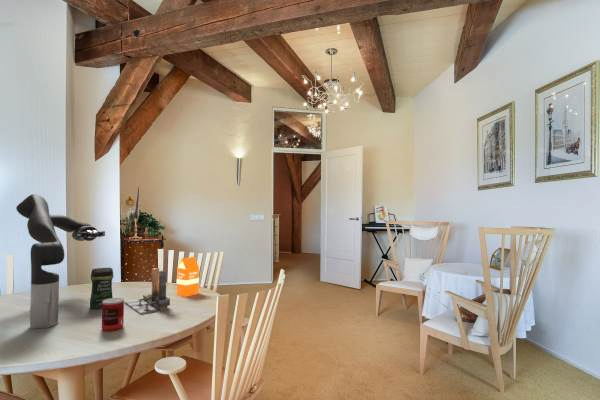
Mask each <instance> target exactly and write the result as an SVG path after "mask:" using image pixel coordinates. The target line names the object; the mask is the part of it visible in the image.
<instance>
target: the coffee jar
mask: <svg viewBox="0 0 600 400" xmlns="http://www.w3.org/2000/svg"><path fill="white" fill-rule="evenodd" d="M113 279H114V270H113V268H112V267H98V268H97V267H96V268H93V269H91V272H90V280H91V284H92V285H91V292H90V293H91V294H90V298H89V308H90V309H93V310H97V309H102V301H103V300H106V299H110V298H114V297H113V290H112V289H113V287H112V285H113V283H112V282H113Z"/></svg>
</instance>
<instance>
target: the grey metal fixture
mask: <svg viewBox="0 0 600 400" xmlns="http://www.w3.org/2000/svg"><path fill="white" fill-rule="evenodd" d="M148 295H150V294H149V293H147V294H144V295H142V296H143V297H142V299H144V298H148ZM139 299H140V298H137V299H130V300H124V305H126V306H128V307H130V308H131V309H132V310H133V311H135V312H136V313H137V314H139V315H146V314H150V313H151V314H152V313H156V312H157V310H159V311H166V310H168V307H169V306H170V305H171V298H169V297H168V296H167V270H159V298H156V299H155V301H153V302H152V303H150V302H149V301H148V300H145V302H144V300H142V301H141V305H139ZM157 308H158V309H157Z"/></svg>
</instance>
